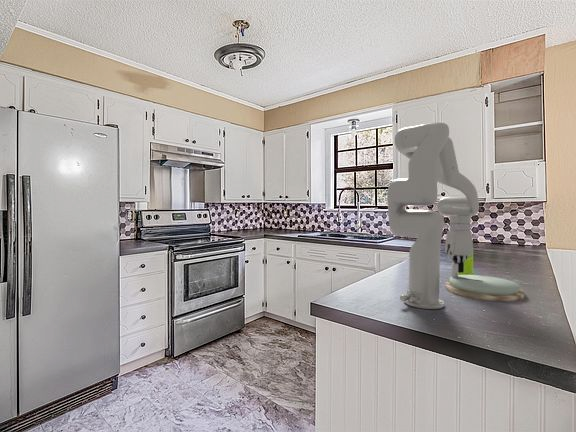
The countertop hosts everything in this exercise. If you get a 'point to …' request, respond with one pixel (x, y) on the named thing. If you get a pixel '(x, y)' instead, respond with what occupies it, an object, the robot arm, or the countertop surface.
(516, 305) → the countertop surface
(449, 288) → the base
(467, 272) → the soap dispenser
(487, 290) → the dial
